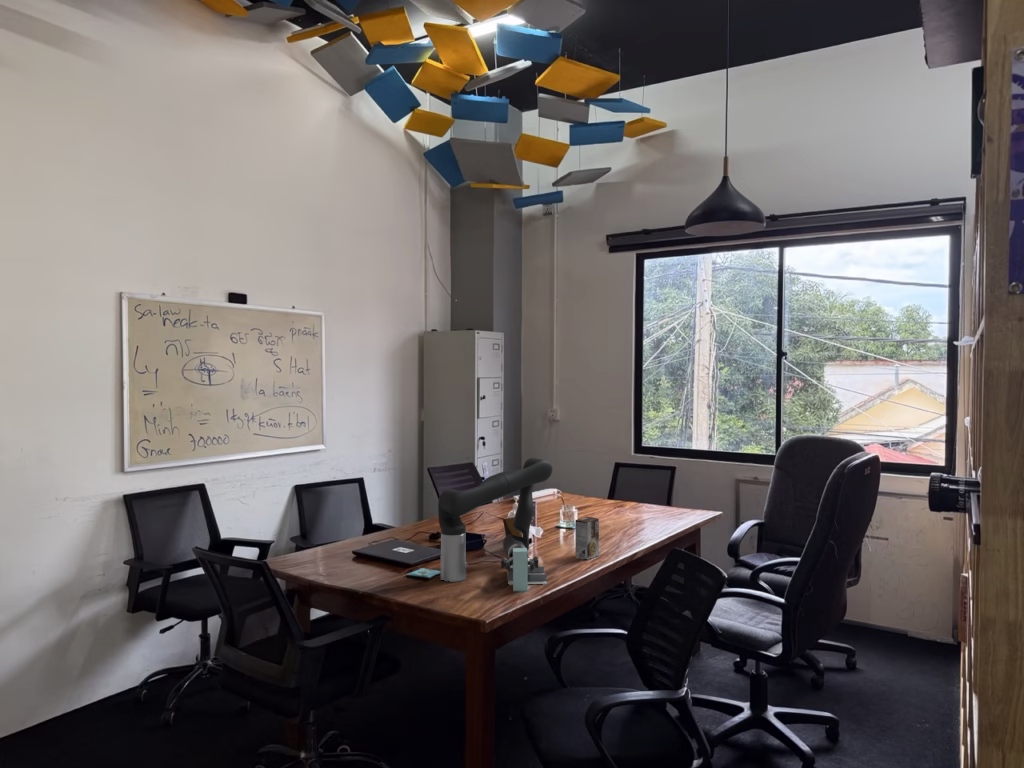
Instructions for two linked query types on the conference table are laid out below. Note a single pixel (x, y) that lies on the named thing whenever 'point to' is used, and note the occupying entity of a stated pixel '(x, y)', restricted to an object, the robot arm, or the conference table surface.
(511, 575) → the keyhole guide
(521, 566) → the teal post
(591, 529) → the coffee box
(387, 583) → the conference table surface
